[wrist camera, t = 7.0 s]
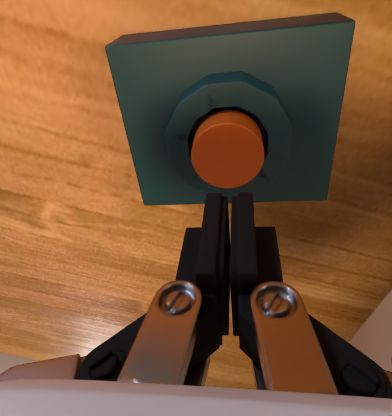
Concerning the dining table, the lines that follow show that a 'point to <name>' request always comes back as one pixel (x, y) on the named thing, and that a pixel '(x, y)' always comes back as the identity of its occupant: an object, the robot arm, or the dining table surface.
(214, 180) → the orange round cap
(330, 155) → the teal box orange button
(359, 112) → the dining table surface
